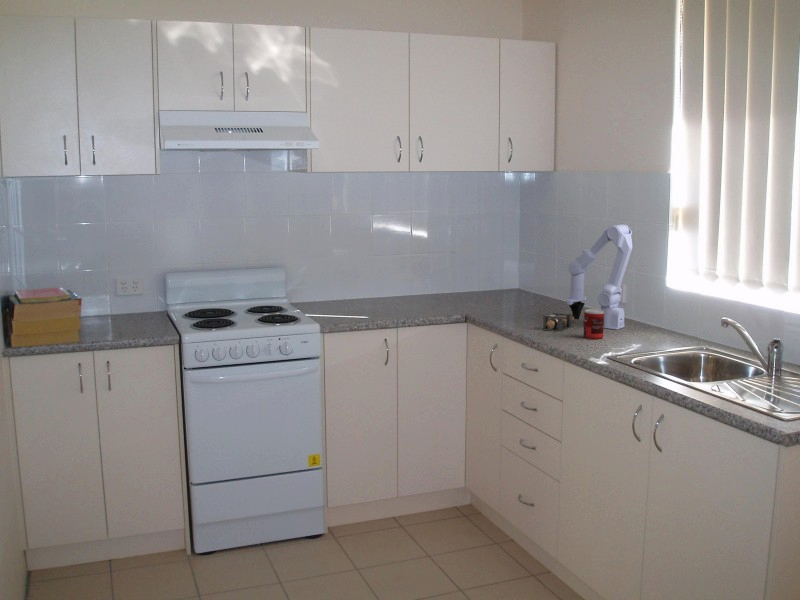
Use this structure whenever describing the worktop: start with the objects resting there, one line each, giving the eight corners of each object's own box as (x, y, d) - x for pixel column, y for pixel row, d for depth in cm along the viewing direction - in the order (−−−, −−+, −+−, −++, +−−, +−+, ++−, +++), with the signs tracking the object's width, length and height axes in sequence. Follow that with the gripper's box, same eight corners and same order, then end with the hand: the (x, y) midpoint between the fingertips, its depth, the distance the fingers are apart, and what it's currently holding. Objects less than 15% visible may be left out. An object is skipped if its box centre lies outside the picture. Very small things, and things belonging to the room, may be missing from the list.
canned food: (588, 334, 338) (589, 308, 336) (606, 337, 333) (607, 310, 331) (580, 338, 332) (580, 311, 331) (598, 340, 327) (599, 313, 326)
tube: (574, 323, 360) (574, 314, 359) (553, 329, 346) (553, 320, 345) (566, 322, 362) (566, 313, 361) (545, 328, 348) (545, 319, 348)
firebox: (572, 327, 354) (572, 312, 353) (558, 331, 345) (558, 316, 344) (556, 325, 359) (556, 310, 358) (541, 329, 350) (542, 314, 349)
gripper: (576, 285, 370) (575, 315, 373) (560, 289, 359) (560, 320, 362) (591, 287, 366) (590, 317, 368) (575, 291, 355) (574, 322, 357)
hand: (576, 318), depth 365 cm, fingers closed
